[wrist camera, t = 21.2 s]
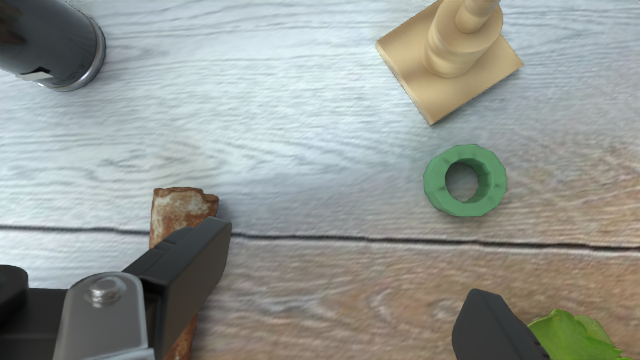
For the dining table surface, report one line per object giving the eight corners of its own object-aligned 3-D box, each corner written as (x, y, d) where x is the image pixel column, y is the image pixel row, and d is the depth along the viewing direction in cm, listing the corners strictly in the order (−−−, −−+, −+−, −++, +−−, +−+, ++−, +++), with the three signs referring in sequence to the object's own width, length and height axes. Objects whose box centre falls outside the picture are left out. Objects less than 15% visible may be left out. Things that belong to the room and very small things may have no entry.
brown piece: (229, 191, 34) (205, 190, 28) (198, 373, 33) (167, 408, 27) (174, 182, 34) (140, 179, 29) (142, 360, 34) (101, 391, 28)
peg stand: (375, 48, 33) (386, -32, 22) (457, -7, 32) (513, -118, 21) (430, 126, 32) (472, 86, 21) (516, 70, 31) (608, -3, 20)
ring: (411, 172, 32) (417, 169, 29) (466, 138, 31) (478, 131, 28) (447, 227, 31) (458, 230, 28) (504, 192, 31) (521, 191, 28)
